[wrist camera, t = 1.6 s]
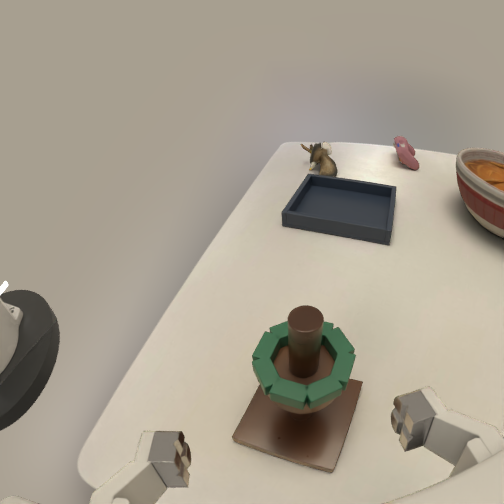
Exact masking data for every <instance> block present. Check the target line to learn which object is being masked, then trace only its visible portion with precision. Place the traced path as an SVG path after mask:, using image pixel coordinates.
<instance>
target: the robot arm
mask: <svg viewBox="0 0 504 504" xmlns="http://www.w3.org/2000/svg"><path fill="white" fill-rule="evenodd" d="M7 286H8V284H7V282H4V283H3V285H2V286H1V287H0V295H1V293H2V292H3V291H4V290H5V289H6V288H7ZM22 317H23V312H22V311H21V310H20V308H18V307H15V306H12V305H10V304H7V303H4V302H3V301H2V300H1V298H0V374H1V373H2V371H3V370H4V369H5V368H6V366H7V365H8V363H9V362H10V360H11V358H12V356H13V354H14V352H15V349H16V347H17V343H18V336H19V325H20V322H21V320H22ZM393 404H394V406H395V408H394V410H393V411H392V414H391V423H392V427H393V429H394V431H395V433H397V434H399V435H400V439H399V441H400V443H401V445H402V447H403V449H404V451H405V452H406V451H409V450H412V449H415V448H418V447H421V446H424V447H425V448H427V449H429V450H430V451H432V452H433V453H435V454H437V455H438V456H440V457H441V458H443V459H445V460H446V461H448V462H450V463H451V464H453V465H455V467H454V469H453V470H452V472H451V474H450V476H449V478H448V479H446V480H444V481H441V482H439V483H437V484H434V485H432V486H430V487H427V488H425V489H422V490H420V491H417V492H415V493H412V494H409V495H407V496H404V497H401V498H398V499H395V500H392V501H389V502H386V503H383V504H504V437H503V436H502V435H501V433H500V432H499V431H498V429H497V428H496V427H495V426H492V425H490V424H487V423H484V422H482V421H479V420H477V419H474V418H471V417H469V416H466V415H464V414H461V413H459V412H456V411H454V410H449V411H448V409H447V408H446V406H445V405H444V404H443V402H442V401H441V400H440V398H439V397H438V395H437V394H436V393H435V391H434V390H433V389H432V387H430V386H428V387H425V388H422V389H419V390H416V391H413V392H410V393H406V394H403V395H400V396H397V397H396V398H395V399H394V403H393ZM184 438H185V437H184V435H183V433H182V431H144V432H143V433H142V435H141V438H140V442H139V445H138V449H137V452H136V456H135V460H134V461H130V462H129V463H128V464H127V465H126V466H125V467H123V468H122V469H121V470H120V471H119V472H117V473H116V474H115V475H114V476H113V477H111V478H110V479H109V480H108V481H107V482H105V483H104V484H103V485H102V486H100V487H99V488H98V489H97V490H95V491H94V492H93V493H92V496H91V499H90V502H89V504H155V503H156V501H157V500H158V499H159V498H160V497H161V495H162V494H163V493H164V492H165V491H166V489H167V487H188V484H189V475H190V474H189V472H188V470H187V468H188V467H189V466H190V465H191V452H190V448H189V446H188V444H187V443H186V442H184ZM0 504H39V503H36V502H33V501H30V500H27V499H24V498H22V497H19V496H9V497H7V498H5V499H3V500H1V501H0Z"/></svg>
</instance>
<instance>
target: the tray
mask: <svg viewBox="0 0 504 504" xmlns="http://www.w3.org/2000/svg"><path fill="white" fill-rule="evenodd" d="M395 197H396V187H395V186H389V185H383V184H377V183H371V182H365V181H358V180H352V179H345V178H337V177H330V176H322V175H314V174H308V175H307V176H306V178H305V179H304V181H303V182H302V184H301V185H300V186H299V188H298V189H297V191H296V192H295V194H294V195H293V197H292V198H291V200H290V201H289V202H288V204H287V205H286V207H285V208H284V210H283V211H282V226H285V227H291V228H297V229H303V230H309V231H314V232H320V233H326V234H331V235H337V236H342V237H348V238H353V239H359V240H364V241H369V242H375V243H380V244H385V245H389V243H390V238H391V232H392V224H393V216H394V207H395Z"/></svg>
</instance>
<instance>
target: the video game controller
mask: <svg viewBox="0 0 504 504" xmlns="http://www.w3.org/2000/svg"><path fill="white" fill-rule="evenodd" d="M394 140H395V144H393V146H394V147H395V148H396V152H397V155H398V156H399V160H400V161H401V162H402V164H406V165H407V166H408V167H409V168H411V169H413V170H417V169H418V168H419V163H418V161H417V160H416V159H415V158H414V157H413V156H414V155H415V150H414V149H413V147H412V146H411V145H409V144H408V142H407V140H406V139H405V138H404V137H402V136H398V137H395V138H394Z"/></svg>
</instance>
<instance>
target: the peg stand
mask: <svg viewBox="0 0 504 504" xmlns="http://www.w3.org/2000/svg"><path fill="white" fill-rule="evenodd" d="M323 321H324V318H323V315H322V313H321V312H320V311H319V310H318V309H317V308H315V307H312V306H299V307H297V308H295V309H293V310H292V311H291V312H290V314H289V316H288V345H287V346H285V347H282V348H280V350H279V352H278V354H277V356H276V358H275V360H274V362H273V364H274V366H275V368H276V370H277V372H278V374H279V376H280V378H283V379H286V380H289V381H293V382H296V383H300V384H303V385H309V384H311V383H313V382H316V381H318V380H320V379H322V378H325V377H327V376H329V375H330V374H331V371H332V368H333V365H334V363H335V361H334V359H333V358H332V356H331V355H330V353H329V352H328V350H327V349H326V347H325V346H324V345H321V341H322V331H323ZM362 383H363V382H362V381H357V380H353V379H349V380H348V384H347V387H346V390H345V391H344V390H342V392H341V395H340V396H338V397H336V398H334V399H332V400H330V401H328V402H325V403H323V404H321V405H319V406H317V407H314V408H312V409H310V408H309V407H308V405H307V403H306V405H305V407H304V409H303V410H301V409H298V408H294V407H291V406H288V405H285V404H281V403H278V402H275V401H272V400H270V394H269V395H265V394H264V392H263V390H262V388H261V386H260V385H259V387H258V389H257V391H256V393H255V395H254V396H253V398H252V400H251V402H250V404H249V406H248V408H247V410H246V412H245V414H244V415H243V417H242V419H241V421H240V423H239V425H238V427H237V429H236V430H235V432H234V434H233V436H232V438H233V440H234V441H235V442H238V443H240V444H243V445H245V446H248V447H251V448H253V449H256V450H259V451H262V452H264V453H267V454H270V455H273V456H276V457H279V458H282V459H285V460H288V461H291V462H295V463H298V464H301V465H305V466H308V467H312V468H315V469H319V470H323V471H326V472H330V473H332V472H333V470H334V468H335V466H336V463H337V460H338V458H339V455H340V452H341V449H342V447H343V444H344V441H345V438H346V435H347V432H348V429H349V426H350V423H351V420H352V417H353V414H354V410H355V407H356V404H357V400H358V397H359V394H360V390H361V387H362Z"/></svg>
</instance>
